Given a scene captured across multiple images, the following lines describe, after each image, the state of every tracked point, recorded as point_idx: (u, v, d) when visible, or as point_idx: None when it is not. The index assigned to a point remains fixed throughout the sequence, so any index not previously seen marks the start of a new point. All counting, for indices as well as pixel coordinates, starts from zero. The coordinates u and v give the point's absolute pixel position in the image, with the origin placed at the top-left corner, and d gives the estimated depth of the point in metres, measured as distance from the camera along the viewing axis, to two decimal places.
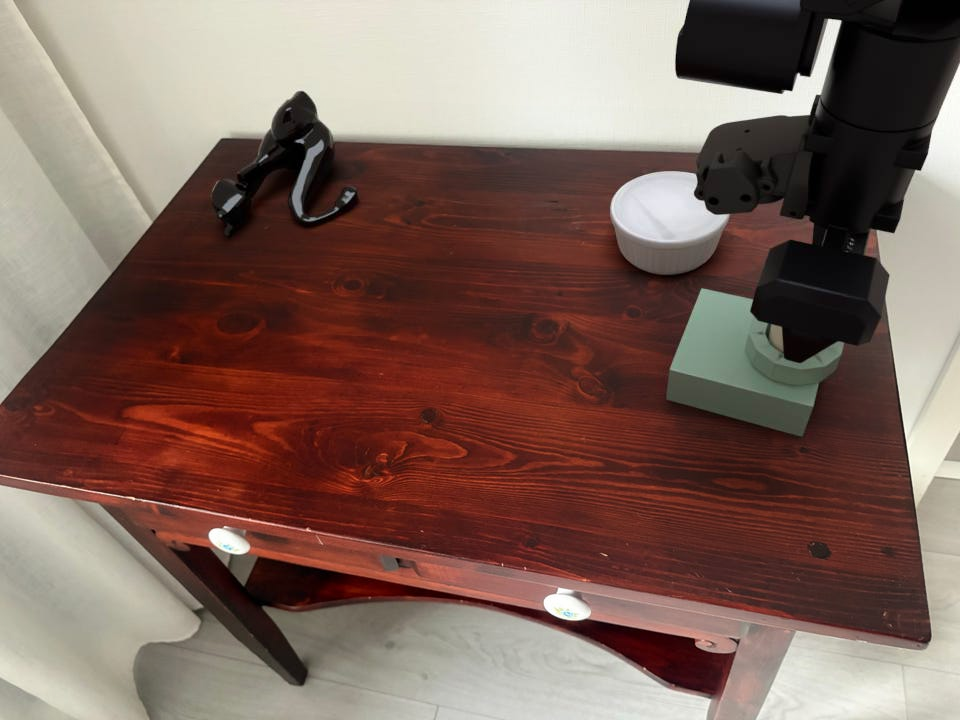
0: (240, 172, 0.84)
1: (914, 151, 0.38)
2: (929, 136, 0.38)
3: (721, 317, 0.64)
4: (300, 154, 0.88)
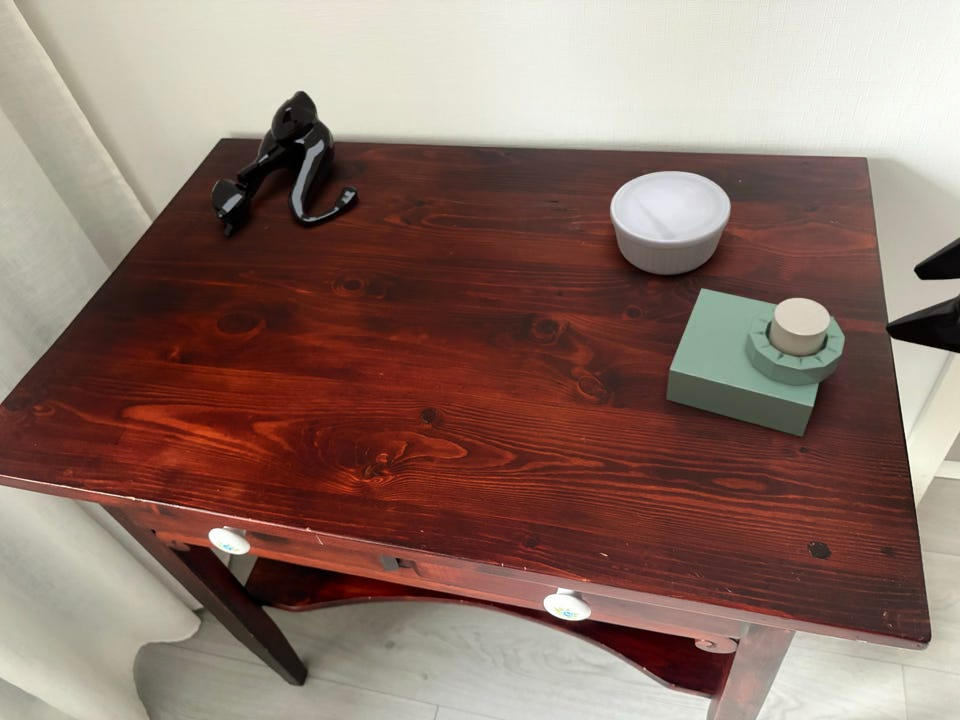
0: (240, 172, 0.84)
1: None
2: None
3: (721, 317, 0.64)
4: (300, 154, 0.88)
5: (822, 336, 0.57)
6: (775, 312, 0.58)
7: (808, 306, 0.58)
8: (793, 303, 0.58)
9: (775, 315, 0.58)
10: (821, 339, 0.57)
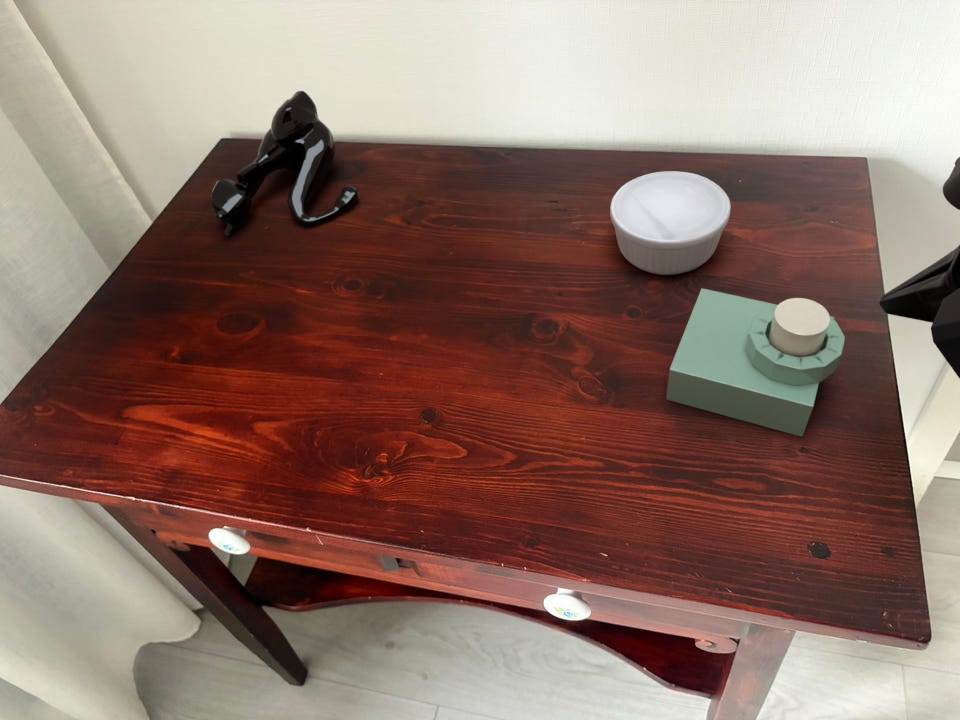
0: (240, 172, 0.84)
1: None
2: None
3: (721, 317, 0.64)
4: (300, 154, 0.88)
5: (822, 336, 0.57)
6: (775, 312, 0.58)
7: (808, 306, 0.58)
8: (793, 303, 0.58)
9: (775, 315, 0.58)
10: (821, 339, 0.57)
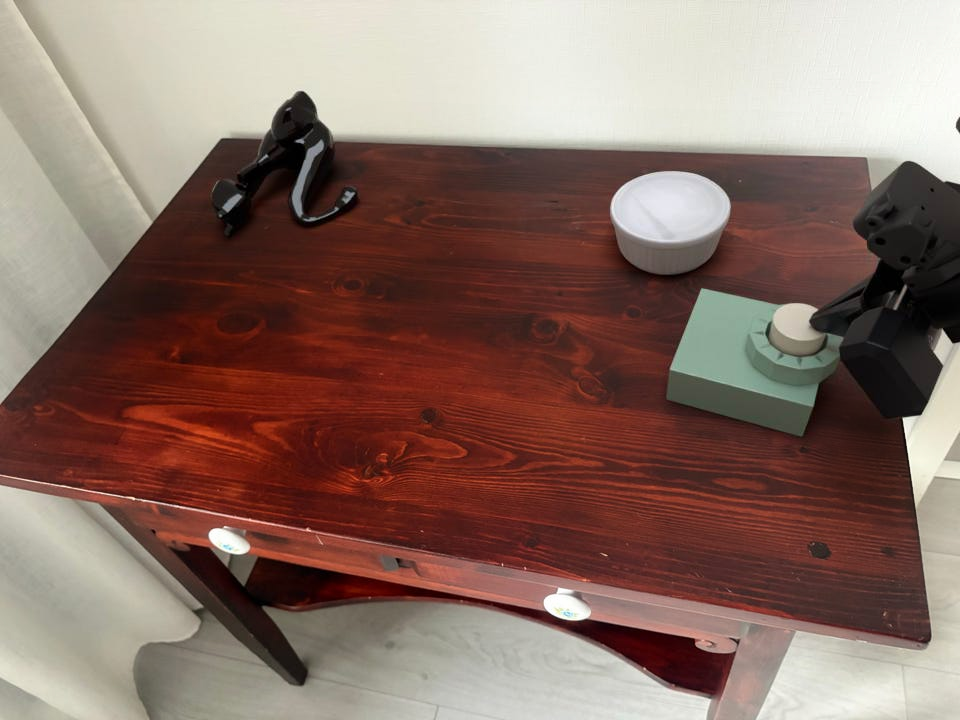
0: (240, 172, 0.84)
1: None
2: None
3: (721, 317, 0.64)
4: (300, 154, 0.88)
5: (820, 341, 0.57)
6: (774, 317, 0.58)
7: (806, 311, 0.58)
8: (792, 308, 0.59)
9: (774, 320, 0.58)
10: (819, 344, 0.57)
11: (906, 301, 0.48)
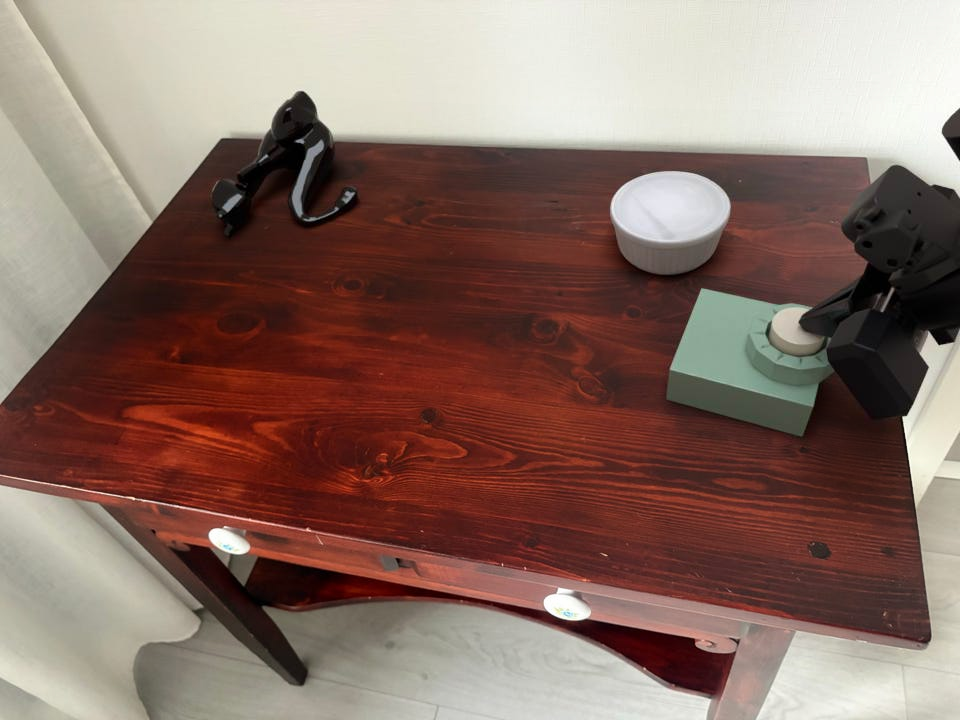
0: (240, 172, 0.84)
1: None
2: None
3: (721, 317, 0.64)
4: (300, 154, 0.88)
5: (819, 345, 0.57)
6: (773, 321, 0.59)
7: None
8: (790, 312, 0.59)
9: (773, 324, 0.58)
10: (818, 348, 0.58)
11: (893, 303, 0.49)
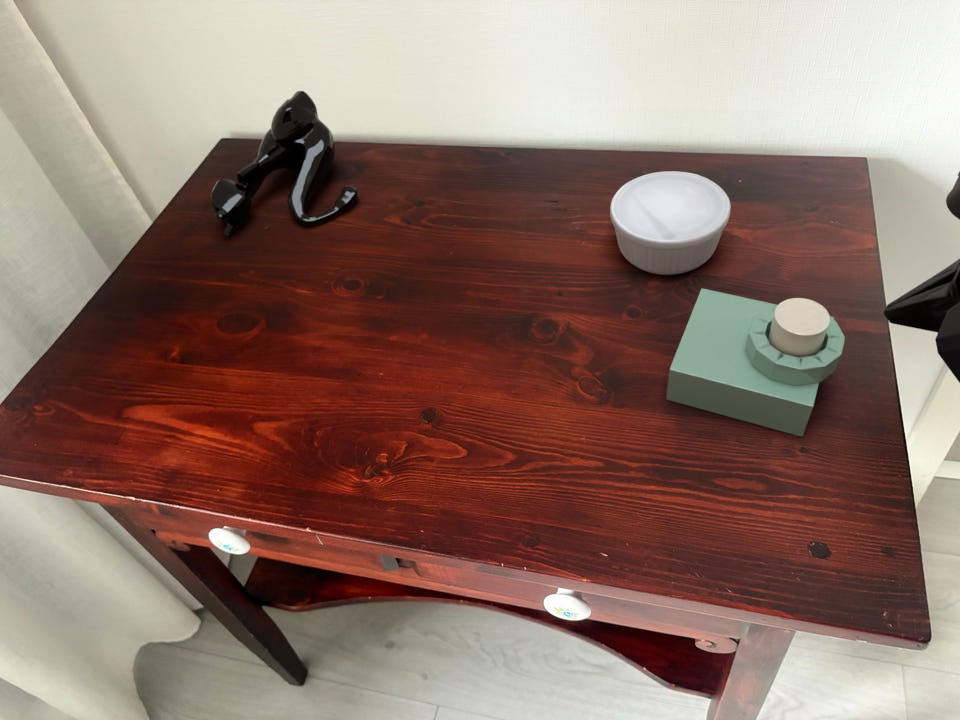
0: (240, 172, 0.84)
1: None
2: None
3: (721, 317, 0.64)
4: (300, 154, 0.88)
5: (822, 336, 0.57)
6: (775, 312, 0.58)
7: (808, 306, 0.58)
8: (793, 303, 0.58)
9: (775, 315, 0.58)
10: (821, 339, 0.57)
11: None
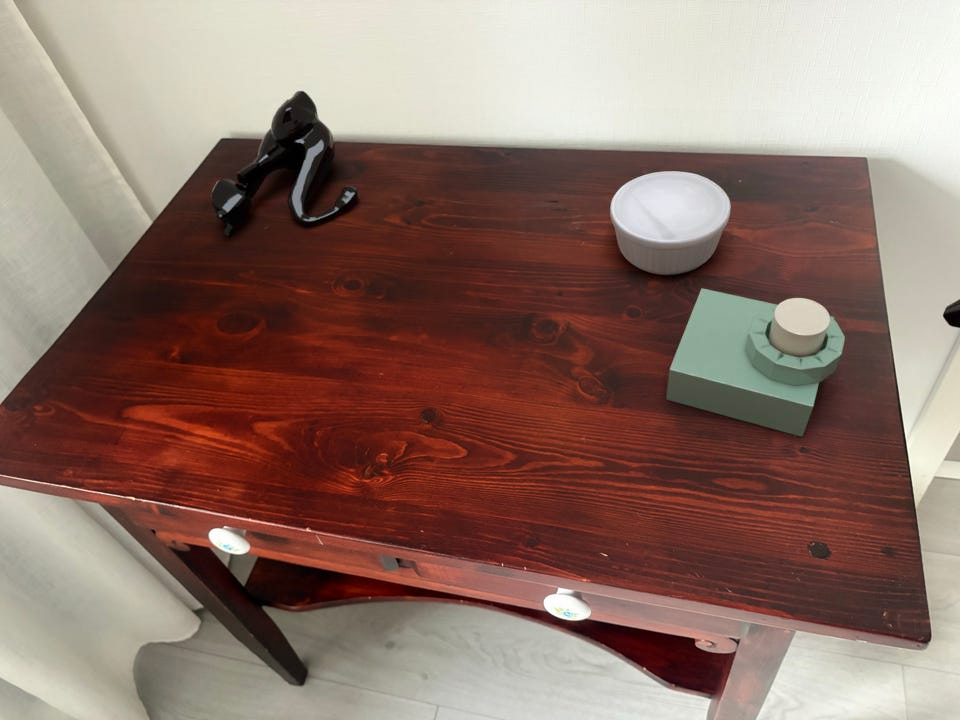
0: (240, 172, 0.84)
1: None
2: None
3: (721, 317, 0.64)
4: (300, 154, 0.88)
5: (822, 336, 0.57)
6: (775, 312, 0.58)
7: (808, 306, 0.58)
8: (793, 303, 0.58)
9: (775, 315, 0.58)
10: (821, 339, 0.57)
11: None
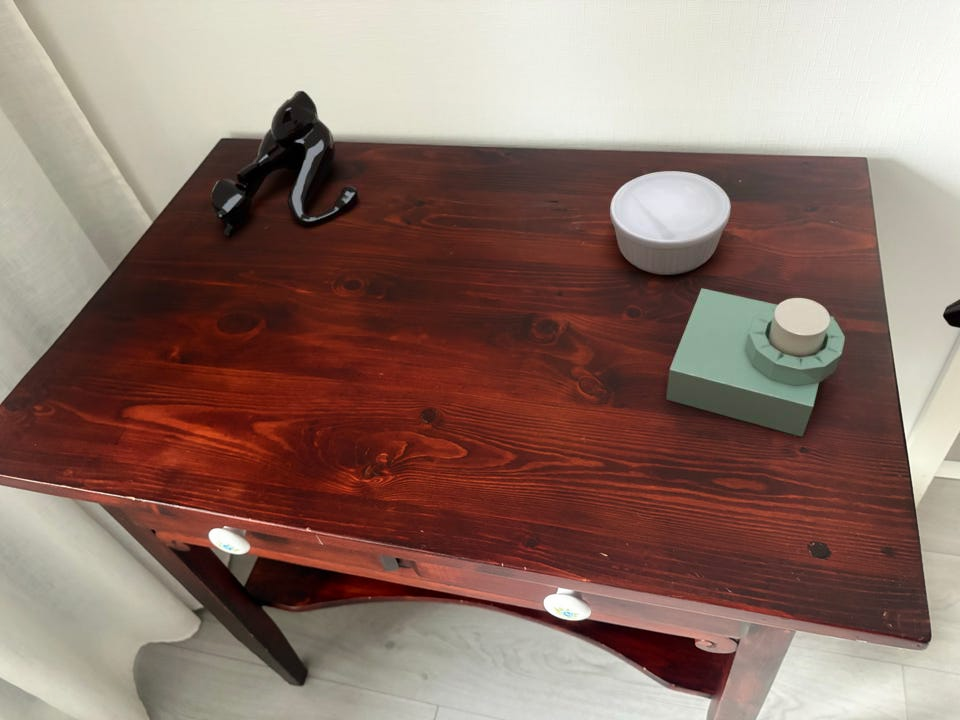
0: (240, 172, 0.84)
1: None
2: None
3: (721, 317, 0.64)
4: (300, 154, 0.88)
5: (822, 336, 0.57)
6: (775, 312, 0.58)
7: (808, 306, 0.58)
8: (793, 303, 0.58)
9: (775, 315, 0.58)
10: (821, 339, 0.57)
11: None
